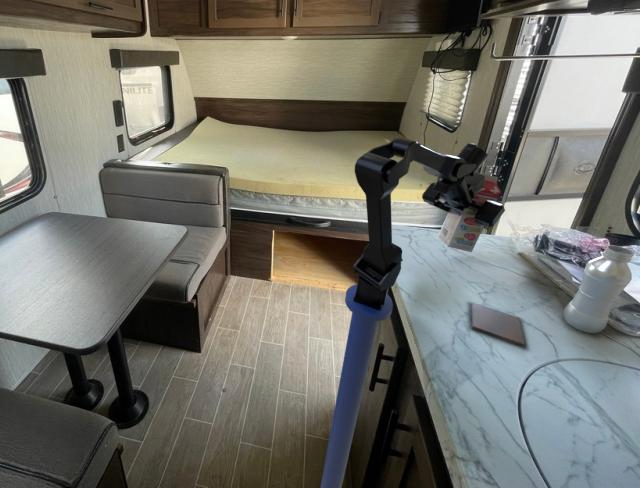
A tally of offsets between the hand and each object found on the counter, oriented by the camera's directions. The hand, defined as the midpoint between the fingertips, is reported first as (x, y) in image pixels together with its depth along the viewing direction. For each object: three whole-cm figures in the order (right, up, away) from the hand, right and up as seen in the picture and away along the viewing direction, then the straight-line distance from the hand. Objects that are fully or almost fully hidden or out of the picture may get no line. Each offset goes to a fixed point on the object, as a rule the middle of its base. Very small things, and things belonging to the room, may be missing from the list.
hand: (465, 217), depth 93 cm
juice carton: (-2, -8, +3) cm, 9 cm away
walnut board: (-8, -22, -21) cm, 31 cm away
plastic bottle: (+11, -23, -21) cm, 33 cm away
